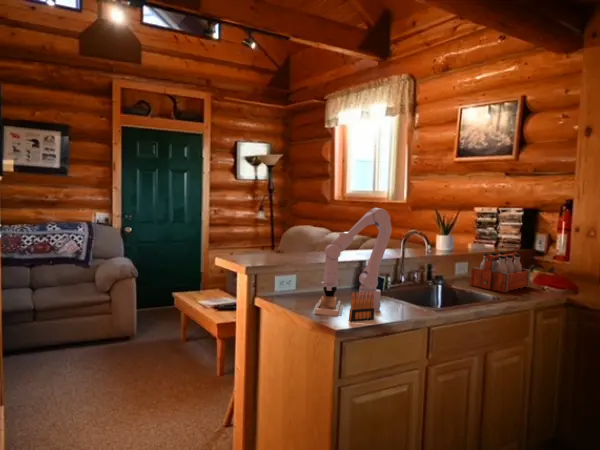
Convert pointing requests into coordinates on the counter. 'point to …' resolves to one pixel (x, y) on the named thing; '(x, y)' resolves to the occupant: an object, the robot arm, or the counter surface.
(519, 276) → the milk bottle holder
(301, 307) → the counter surface
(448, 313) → the counter surface
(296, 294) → the counter surface
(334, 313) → the bay
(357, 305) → the ammunition clip
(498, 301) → the counter surface
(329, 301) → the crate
